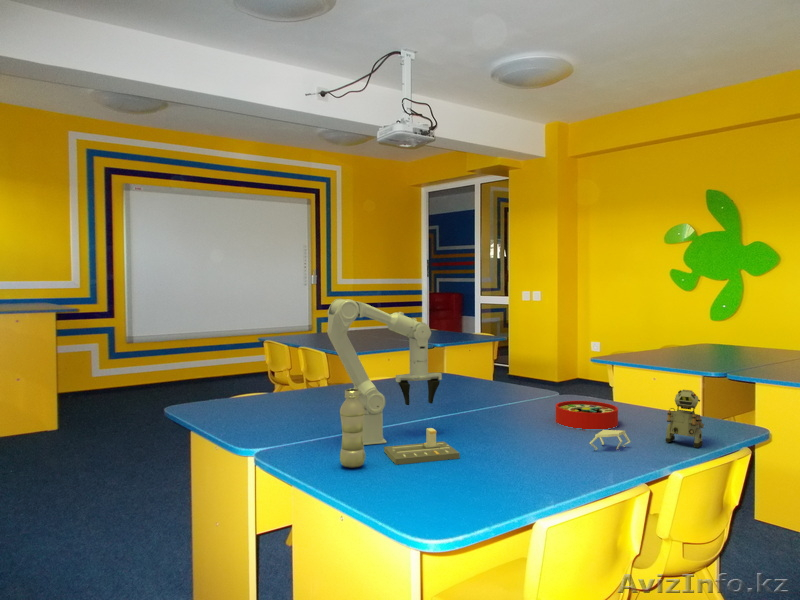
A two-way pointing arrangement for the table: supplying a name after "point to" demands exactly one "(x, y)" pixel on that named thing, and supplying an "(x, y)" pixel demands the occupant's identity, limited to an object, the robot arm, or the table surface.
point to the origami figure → (610, 434)
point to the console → (420, 453)
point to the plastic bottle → (352, 430)
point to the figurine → (685, 418)
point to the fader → (430, 439)
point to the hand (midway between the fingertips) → (419, 403)
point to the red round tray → (587, 414)
